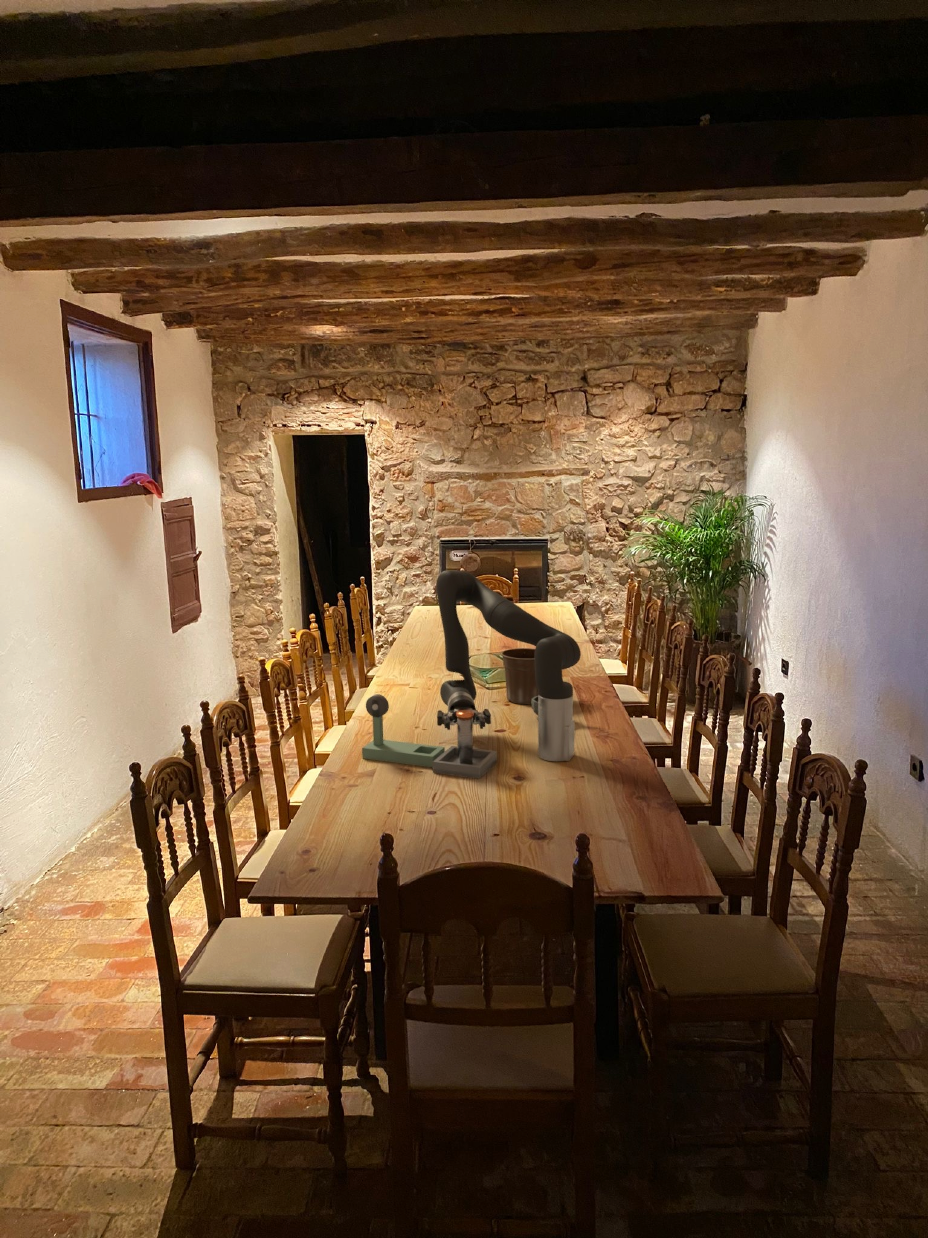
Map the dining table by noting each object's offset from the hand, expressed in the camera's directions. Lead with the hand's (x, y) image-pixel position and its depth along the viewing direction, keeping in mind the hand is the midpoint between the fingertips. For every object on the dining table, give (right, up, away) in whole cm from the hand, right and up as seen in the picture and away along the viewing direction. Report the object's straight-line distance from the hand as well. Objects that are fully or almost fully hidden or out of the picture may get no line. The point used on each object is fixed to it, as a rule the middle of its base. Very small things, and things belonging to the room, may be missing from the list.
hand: (465, 725), depth 219 cm
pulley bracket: (-17, -10, +12) cm, 23 cm away
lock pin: (0, -10, +4) cm, 11 cm away
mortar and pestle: (+26, -4, +43) cm, 50 cm away
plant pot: (+20, 0, +66) cm, 69 cm away
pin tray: (0, -11, +4) cm, 12 cm away
